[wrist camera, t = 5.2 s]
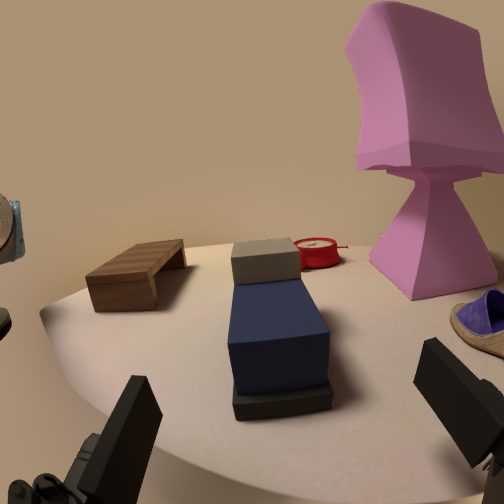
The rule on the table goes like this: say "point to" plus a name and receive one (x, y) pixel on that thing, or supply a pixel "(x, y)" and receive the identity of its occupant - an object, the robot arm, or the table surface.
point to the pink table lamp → (426, 142)
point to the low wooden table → (133, 276)
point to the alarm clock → (318, 252)
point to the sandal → (481, 322)
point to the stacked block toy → (275, 335)
